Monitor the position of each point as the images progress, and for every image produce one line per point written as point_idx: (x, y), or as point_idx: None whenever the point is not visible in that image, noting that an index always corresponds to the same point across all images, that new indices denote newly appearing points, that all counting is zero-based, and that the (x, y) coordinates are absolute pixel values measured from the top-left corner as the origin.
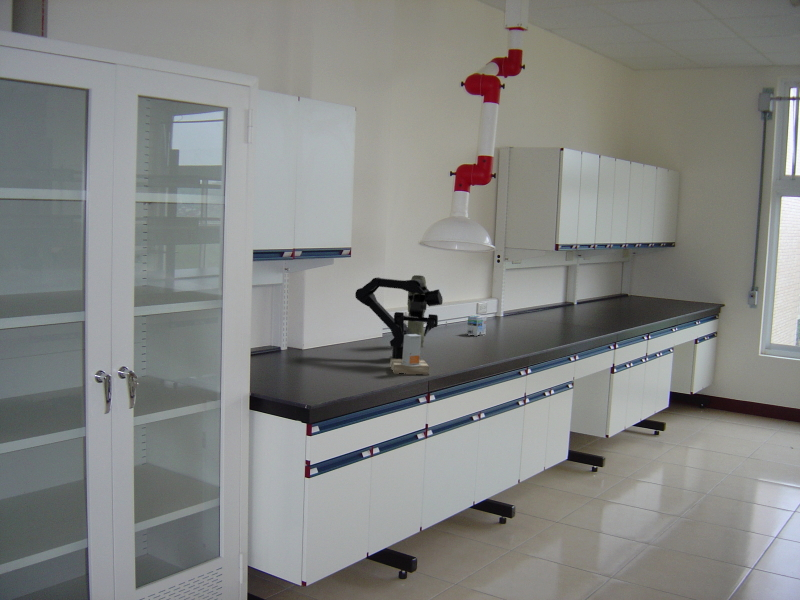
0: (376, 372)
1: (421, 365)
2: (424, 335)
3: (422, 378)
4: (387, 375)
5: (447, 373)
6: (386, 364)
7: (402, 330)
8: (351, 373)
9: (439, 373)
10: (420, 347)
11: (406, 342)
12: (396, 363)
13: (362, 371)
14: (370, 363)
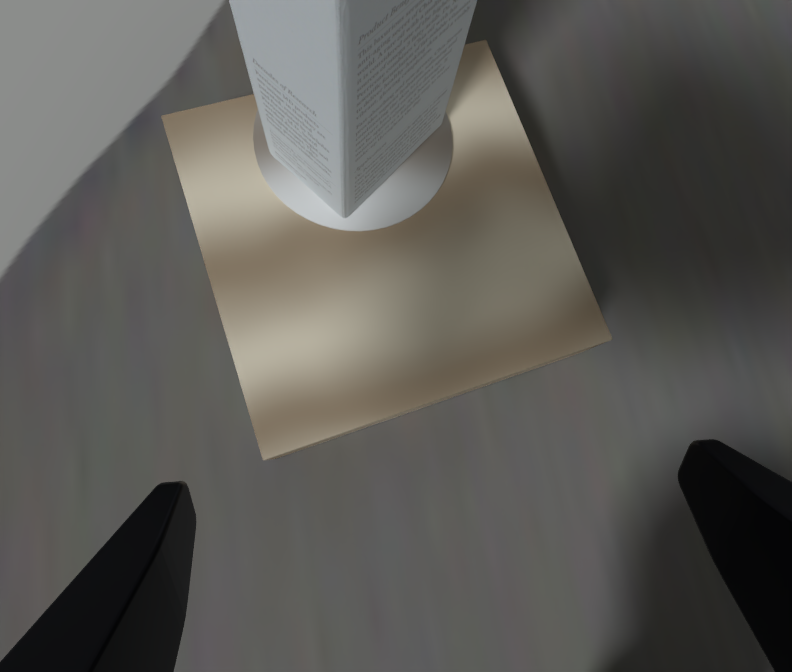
0: (608, 97)
1: (243, 125)
2: (179, 486)
3: (224, 17)
4: (503, 28)
5: (5, 292)
6: (636, 460)
7: (784, 486)
8: (750, 6)
9: (87, 260)
10: (233, 15)
11: None
12: (494, 126)
13: (710, 94)
14: (775, 437)
